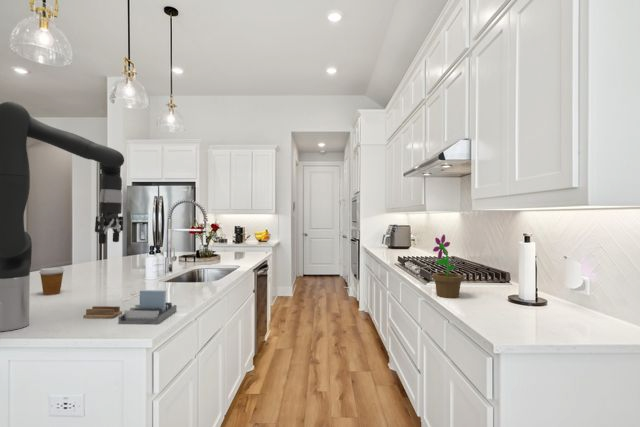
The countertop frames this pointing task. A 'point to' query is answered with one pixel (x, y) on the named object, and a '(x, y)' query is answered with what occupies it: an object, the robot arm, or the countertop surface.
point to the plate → (153, 299)
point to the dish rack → (146, 315)
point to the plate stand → (102, 312)
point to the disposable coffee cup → (51, 280)
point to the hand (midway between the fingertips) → (109, 242)
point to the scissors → (130, 296)
